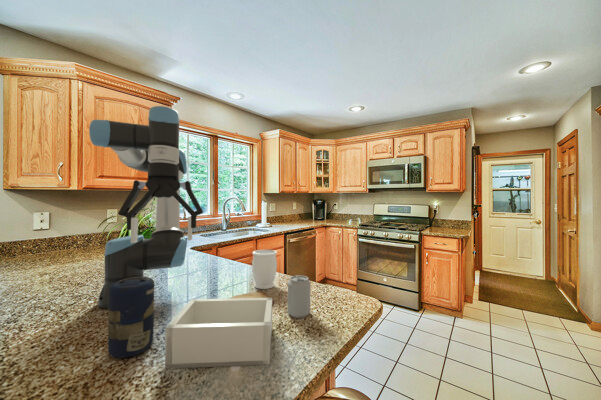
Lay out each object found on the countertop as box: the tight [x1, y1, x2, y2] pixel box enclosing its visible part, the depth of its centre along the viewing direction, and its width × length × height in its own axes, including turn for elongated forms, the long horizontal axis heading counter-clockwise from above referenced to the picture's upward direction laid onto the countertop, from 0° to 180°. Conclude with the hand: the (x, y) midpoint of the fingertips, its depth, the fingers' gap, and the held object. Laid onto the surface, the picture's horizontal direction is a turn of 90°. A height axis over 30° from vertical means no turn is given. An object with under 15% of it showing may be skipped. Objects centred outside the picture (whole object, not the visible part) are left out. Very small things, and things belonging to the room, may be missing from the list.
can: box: [287, 274, 311, 319], centre depth 83 cm, size 8×8×12 cm
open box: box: [164, 297, 273, 370], centre depth 64 cm, size 23×16×9 cm
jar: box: [251, 249, 278, 290], centre depth 109 cm, size 11×10×15 cm
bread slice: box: [227, 291, 275, 305], centre depth 88 cm, size 18×18×4 cm
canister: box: [107, 276, 155, 359], centre depth 63 cm, size 10×10×18 cm
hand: (162, 241), depth 68 cm, fingers open, 13 cm apart
